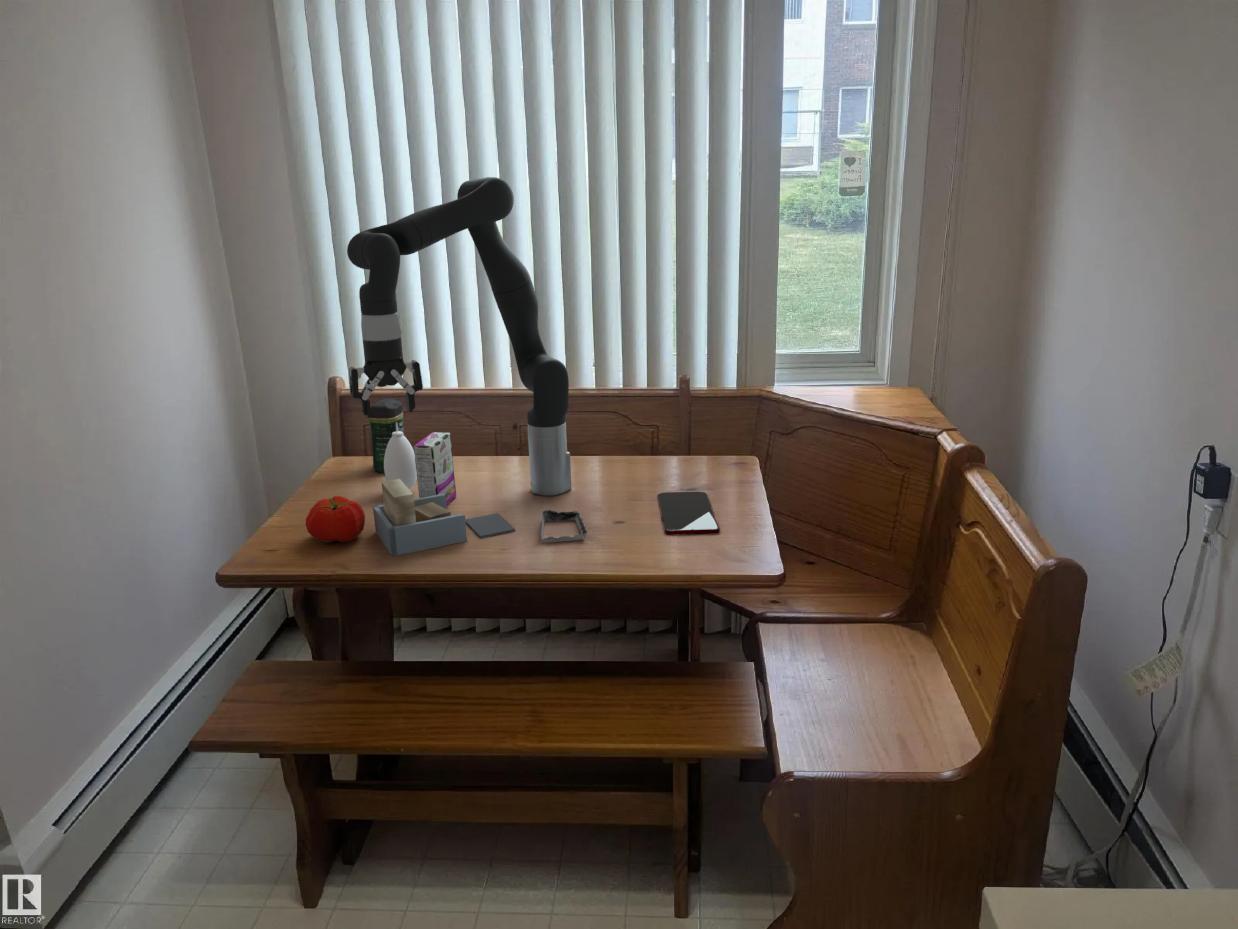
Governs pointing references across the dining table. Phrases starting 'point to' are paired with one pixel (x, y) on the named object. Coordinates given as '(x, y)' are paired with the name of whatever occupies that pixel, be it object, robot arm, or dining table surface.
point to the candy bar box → (435, 466)
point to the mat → (489, 525)
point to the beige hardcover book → (398, 503)
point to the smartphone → (687, 513)
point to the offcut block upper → (430, 512)
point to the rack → (420, 529)
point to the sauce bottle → (400, 460)
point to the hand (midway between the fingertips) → (389, 414)
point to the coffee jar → (384, 428)
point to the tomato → (335, 520)
